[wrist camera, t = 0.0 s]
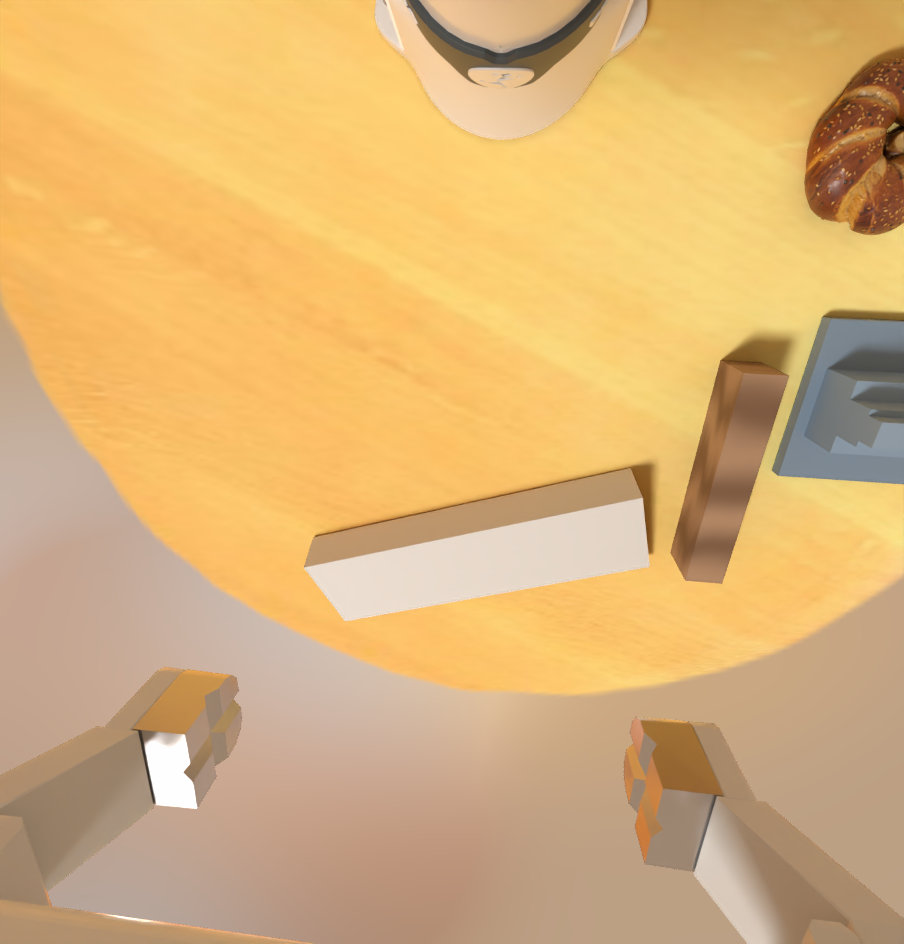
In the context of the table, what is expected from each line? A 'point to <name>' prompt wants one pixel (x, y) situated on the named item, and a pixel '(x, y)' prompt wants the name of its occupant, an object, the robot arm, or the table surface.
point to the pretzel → (861, 154)
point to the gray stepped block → (849, 405)
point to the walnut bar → (726, 467)
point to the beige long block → (484, 547)
